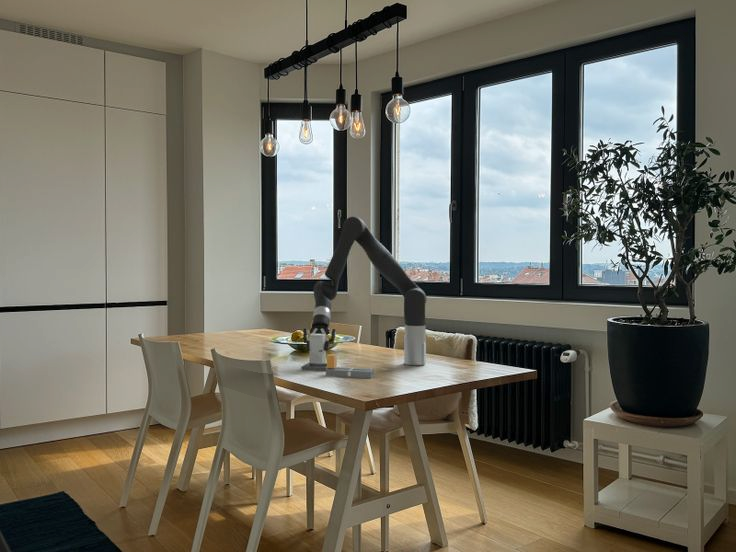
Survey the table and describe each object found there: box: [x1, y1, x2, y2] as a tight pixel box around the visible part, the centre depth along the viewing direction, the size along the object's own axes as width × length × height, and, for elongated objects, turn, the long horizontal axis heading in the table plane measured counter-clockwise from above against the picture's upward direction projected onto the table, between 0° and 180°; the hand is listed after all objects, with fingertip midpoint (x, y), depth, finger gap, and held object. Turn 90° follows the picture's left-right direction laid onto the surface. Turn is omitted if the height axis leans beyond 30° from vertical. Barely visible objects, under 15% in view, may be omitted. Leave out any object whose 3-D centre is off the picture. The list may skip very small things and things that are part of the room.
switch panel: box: [325, 366, 375, 379], centre depth 257 cm, size 18×7×3 cm, turn 78°
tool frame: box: [300, 362, 328, 372], centre depth 272 cm, size 11×11×2 cm
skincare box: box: [308, 333, 327, 364], centre depth 272 cm, size 6×4×12 cm
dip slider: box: [326, 353, 338, 368], centre depth 258 cm, size 3×4×5 cm
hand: (317, 350), depth 270 cm, fingers closed on skincare box, 6 cm apart
